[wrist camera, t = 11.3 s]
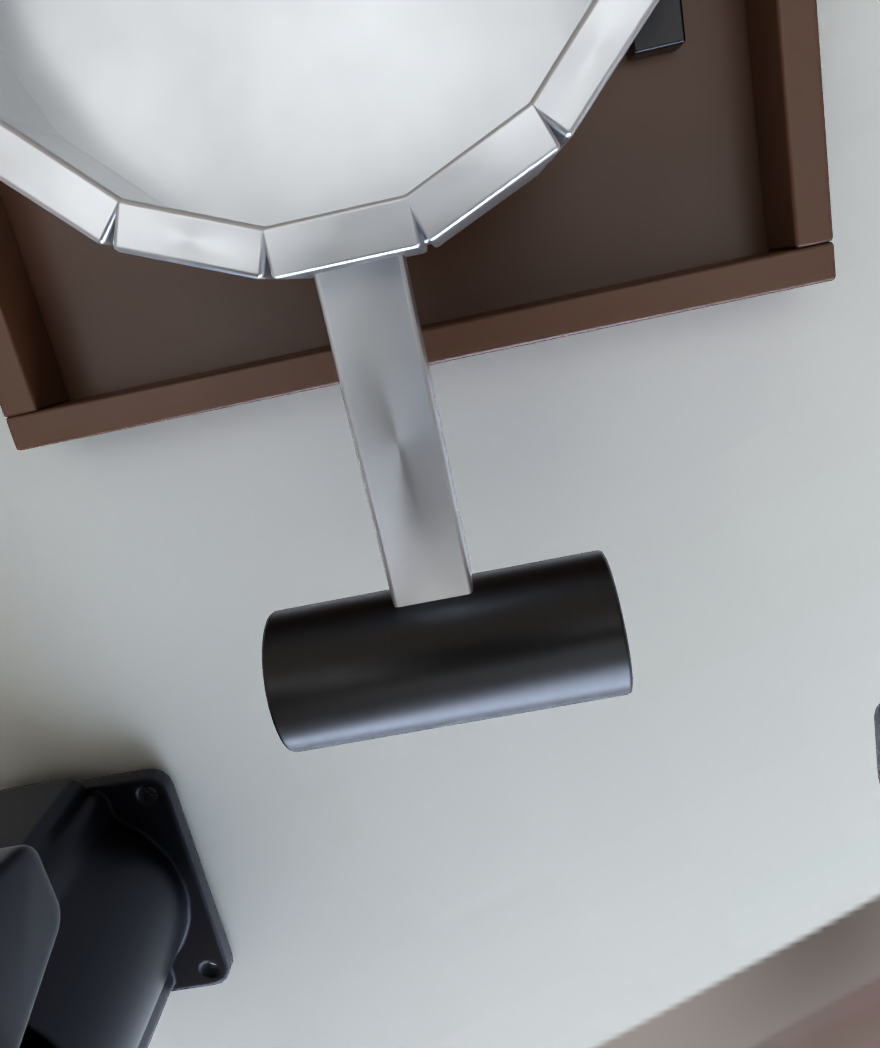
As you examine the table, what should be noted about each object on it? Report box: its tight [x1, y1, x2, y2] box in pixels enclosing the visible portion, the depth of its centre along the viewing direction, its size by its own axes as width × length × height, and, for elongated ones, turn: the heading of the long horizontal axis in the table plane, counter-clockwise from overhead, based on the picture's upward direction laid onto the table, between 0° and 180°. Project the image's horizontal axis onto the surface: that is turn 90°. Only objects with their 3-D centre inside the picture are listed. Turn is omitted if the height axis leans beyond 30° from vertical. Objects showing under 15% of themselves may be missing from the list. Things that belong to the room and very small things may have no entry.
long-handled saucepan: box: [0, 0, 659, 752], centre depth 10 cm, size 16×10×3 cm, turn 12°
